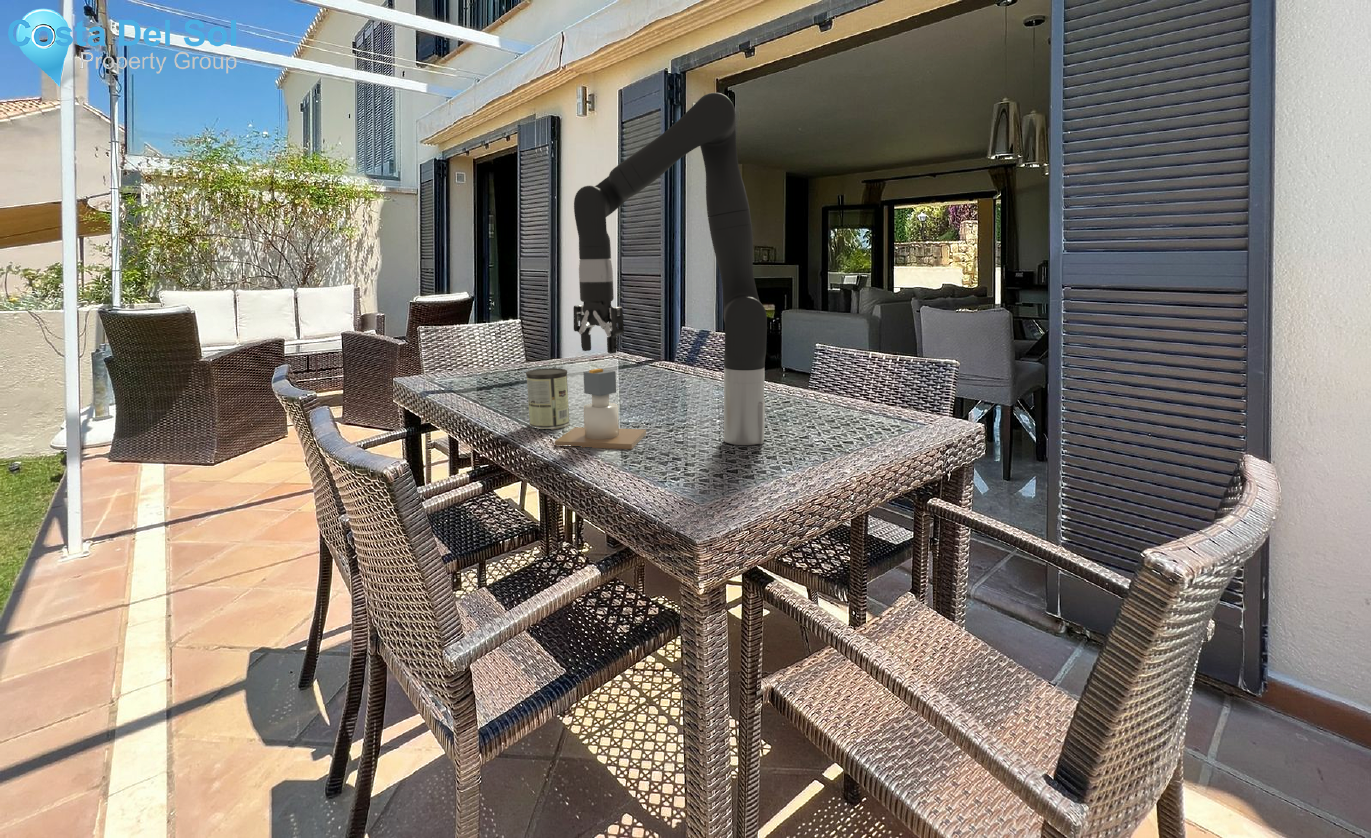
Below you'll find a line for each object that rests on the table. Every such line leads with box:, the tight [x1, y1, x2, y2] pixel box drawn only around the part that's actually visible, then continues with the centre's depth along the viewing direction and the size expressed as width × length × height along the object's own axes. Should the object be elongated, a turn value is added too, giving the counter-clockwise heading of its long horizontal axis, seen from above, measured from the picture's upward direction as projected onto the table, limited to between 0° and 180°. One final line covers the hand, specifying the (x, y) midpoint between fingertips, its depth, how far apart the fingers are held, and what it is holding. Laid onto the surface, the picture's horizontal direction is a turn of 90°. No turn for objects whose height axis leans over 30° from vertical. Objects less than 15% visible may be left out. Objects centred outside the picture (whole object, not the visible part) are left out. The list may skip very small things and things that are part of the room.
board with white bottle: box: [554, 394, 647, 450], centre depth 165 cm, size 18×14×11 cm
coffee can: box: [525, 367, 570, 430], centre depth 181 cm, size 10×10×14 cm
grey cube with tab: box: [583, 368, 617, 396], centre depth 163 cm, size 5×5×6 cm
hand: (599, 351), depth 162 cm, fingers open, 8 cm apart
